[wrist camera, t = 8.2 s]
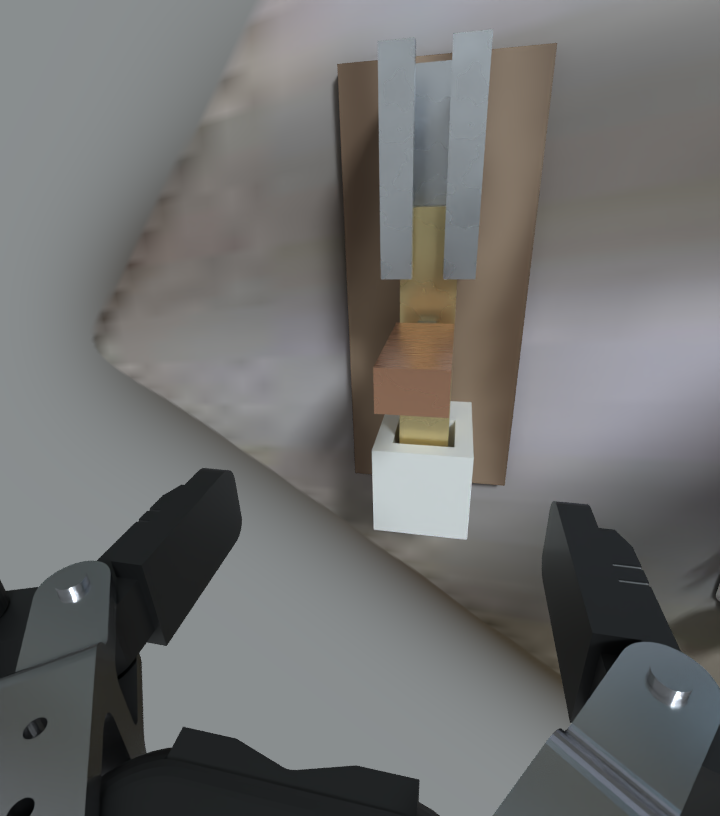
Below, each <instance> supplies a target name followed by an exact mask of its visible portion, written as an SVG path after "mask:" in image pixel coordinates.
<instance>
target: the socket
mask: <svg viewBox="0 0 720 816" xmlns="http://www.w3.org/2000/svg"><path fill="white" fill-rule="evenodd" d="M473 461H474V453H473V428H472V402H457V401H451V403H450V421H449V439H448V447H441V446H427V445H413V444H400V415H387V414H385V415H384V418H383V420H382V423H381V426H380V429H379V432H378V434H377V437H376V440H375V443H374V446H373V449H372V480H373V519H374V530H382V531H391V532H401V533H410V534H419V535H428V536H437V537H447V538H456V539H465V540H467V533H468V521H469V509H470V497H471V485H472V473H473Z"/></svg>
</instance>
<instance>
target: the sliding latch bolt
mask: <svg viewBox="0 0 720 816" xmlns="http://www.w3.org/2000/svg"><path fill="white" fill-rule="evenodd" d="M445 220H446V205H436V206H414V220H413V278H412V279H400V323H396V325H395V326H394V328H393V330H392V332H391V334H390V336H389V338H388V340H387V342H386V344H385V346H384V348H383V350H382V351H381V353H380V355H379V357H378V359H377V361H376V363H375V365H374V367H373V383H374V414H387V415H400V444H413V445H427V446H441V447H448V439H449V421H450V403H451V385H452V366H453V348H454V330H455V311H456V293H457V279H443V268H444V244H445Z"/></svg>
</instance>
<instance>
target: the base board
mask: <svg viewBox="0 0 720 816" xmlns="http://www.w3.org/2000/svg"><path fill="white" fill-rule="evenodd" d="M556 49H557V43H552V44H541V45H531V46H520V47H510V48H500V49H492V52H491V66H490V80H489V94H488V108H487V122H486V136H485V151H484V165H483V179H482V193H481V207H480V221H479V235H478V249H477V263H476V277H475V279H457V293H456V311H455V330H454V348H453V366H452V385H451V401H457V402H472V428H473V453H474V461H473V473H472V483H480V484H492V485H504V486H505V477H506V469H507V461H508V452H509V444H510V435H511V427H512V419H513V410H514V402H515V393H516V385H517V377H518V368H519V360H520V351H521V343H522V334H523V326H524V318H525V309H526V301H527V292H528V284H529V276H530V267H531V259H532V250H533V242H534V234H535V225H536V217H537V208H538V200H539V192H540V183H541V175H542V166H543V158H544V149H545V141H546V133H547V124H548V116H549V107H550V99H551V91H552V82H553V74H554V65H555V57H556ZM446 60H452V53H448V54H437V55H427V56H416V63H425V62H435V61H446ZM337 67H338V89H339V112H340V135H341V158H342V180H343V203H344V226H345V249H346V271H347V294H348V317H349V340H350V362H351V385H352V408H353V431H354V453H355V473H362V474H372V449H373V446H374V443H375V440H376V437H377V434H378V432H379V429H380V426H381V423H382V420H383V418H384V415H385V414H374V383H373V367H374V365H375V363H376V361H377V359H378V357H379V355H380V353H381V351H382V350H383V348H384V346H385V344H386V342H387V340H388V338H389V336H390V334H391V332H392V330H393V328H394V326H395V325H396V323H400V279H381V254H380V181H379V107H378V60H375V61H364V62H354V63H343V64H337Z"/></svg>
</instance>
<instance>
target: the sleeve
mask: <svg viewBox="0 0 720 816" xmlns="http://www.w3.org/2000/svg"><path fill="white" fill-rule="evenodd" d="M492 38H493V29H490V30H480V31H471V32H461V33H453V53H452V60H446V61H435V62H425V63H416V39H415V37H413V38H404V39H394V40H385V41H378V107H379V181H380V254H381V279H412V278H413V220H414V206H436V205H446V220H445V244H444V268H443V279H475V277H476V263H477V249H478V235H479V221H480V207H481V193H482V179H483V165H484V151H485V136H486V122H487V108H488V94H489V80H490V66H491V52H492Z"/></svg>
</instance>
